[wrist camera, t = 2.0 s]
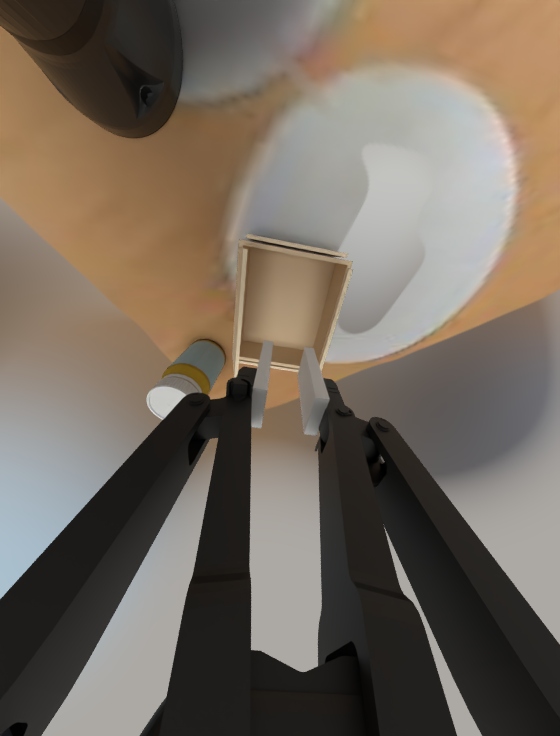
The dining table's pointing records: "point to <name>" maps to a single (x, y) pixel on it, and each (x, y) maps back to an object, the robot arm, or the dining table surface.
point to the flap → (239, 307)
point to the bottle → (187, 376)
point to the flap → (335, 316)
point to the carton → (288, 300)
